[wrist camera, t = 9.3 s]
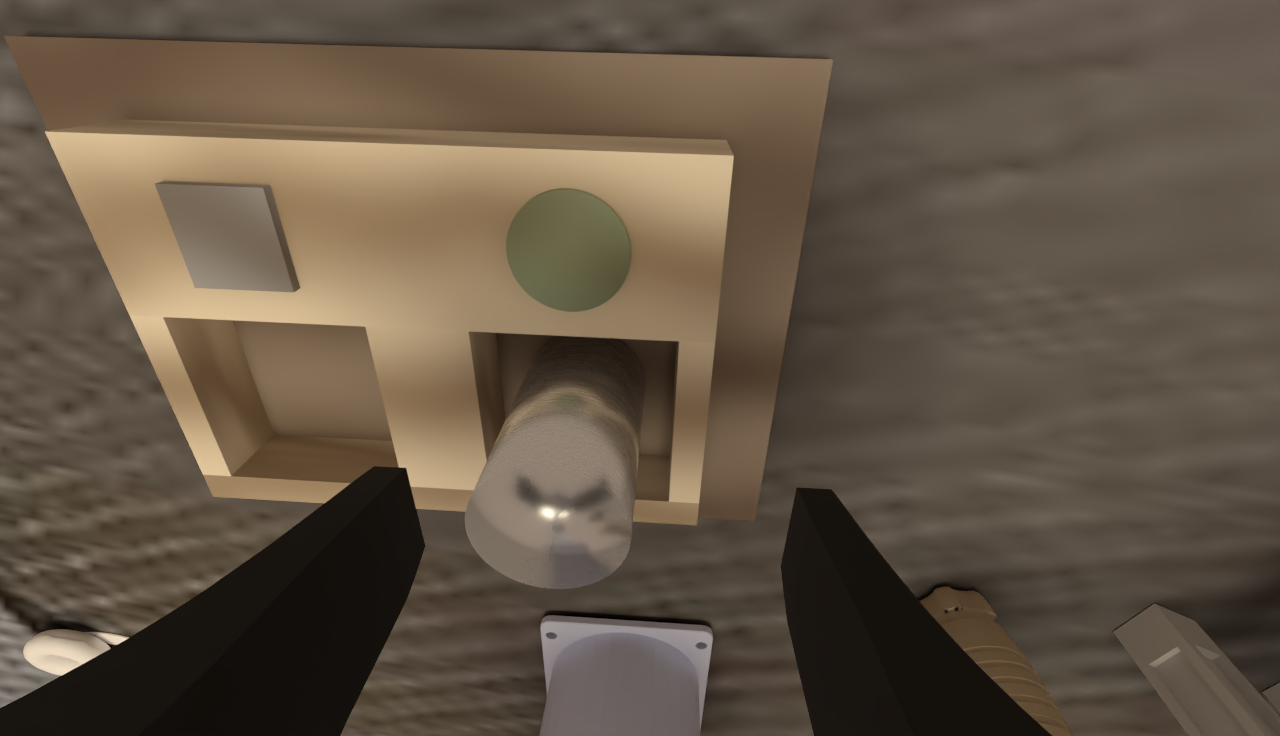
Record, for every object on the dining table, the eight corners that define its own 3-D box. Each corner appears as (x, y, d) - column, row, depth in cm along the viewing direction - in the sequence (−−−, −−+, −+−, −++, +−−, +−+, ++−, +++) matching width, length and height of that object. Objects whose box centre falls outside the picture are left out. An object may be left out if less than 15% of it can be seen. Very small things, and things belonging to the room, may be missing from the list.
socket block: (753, 510, 23) (764, 577, 20) (222, 479, 24) (160, 539, 21) (828, 58, 15) (862, 64, 12) (25, 35, 16) (-117, 35, 13)
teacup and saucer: (29, 607, 30) (-57, 683, 26) (179, 621, 30) (112, 700, 26) (97, 703, 34) (31, 779, 31) (229, 716, 34) (177, 794, 31)
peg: (643, 431, 21) (629, 594, 15) (533, 425, 21) (475, 584, 15) (647, 331, 19) (632, 472, 13) (525, 325, 19) (453, 462, 13)
